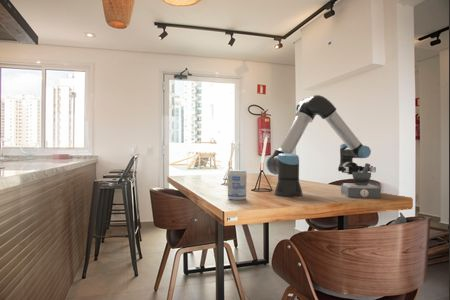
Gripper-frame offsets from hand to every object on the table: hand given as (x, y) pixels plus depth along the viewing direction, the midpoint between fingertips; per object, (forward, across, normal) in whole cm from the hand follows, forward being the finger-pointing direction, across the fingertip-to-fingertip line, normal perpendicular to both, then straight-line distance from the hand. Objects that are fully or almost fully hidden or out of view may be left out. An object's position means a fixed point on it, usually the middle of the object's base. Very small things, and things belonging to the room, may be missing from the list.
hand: (361, 169), depth 154 cm
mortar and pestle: (-4, -2, -9) cm, 10 cm away
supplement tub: (+20, +66, -15) cm, 70 cm away
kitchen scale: (-3, 0, -14) cm, 15 cm away
